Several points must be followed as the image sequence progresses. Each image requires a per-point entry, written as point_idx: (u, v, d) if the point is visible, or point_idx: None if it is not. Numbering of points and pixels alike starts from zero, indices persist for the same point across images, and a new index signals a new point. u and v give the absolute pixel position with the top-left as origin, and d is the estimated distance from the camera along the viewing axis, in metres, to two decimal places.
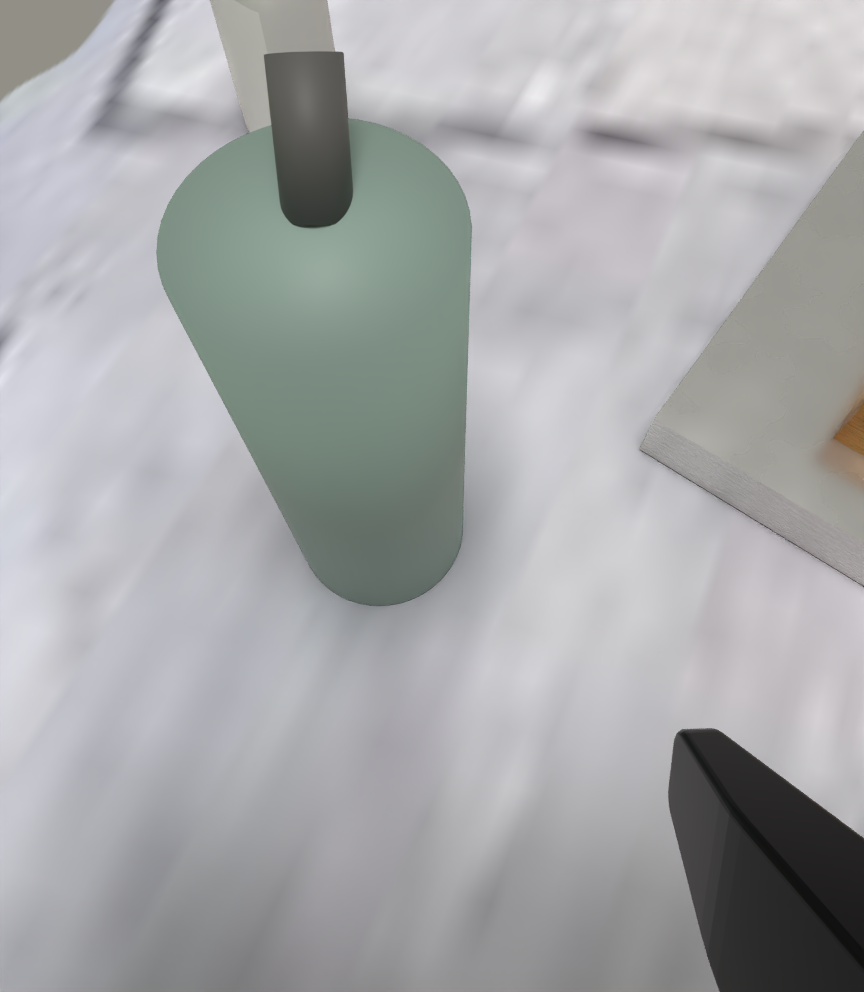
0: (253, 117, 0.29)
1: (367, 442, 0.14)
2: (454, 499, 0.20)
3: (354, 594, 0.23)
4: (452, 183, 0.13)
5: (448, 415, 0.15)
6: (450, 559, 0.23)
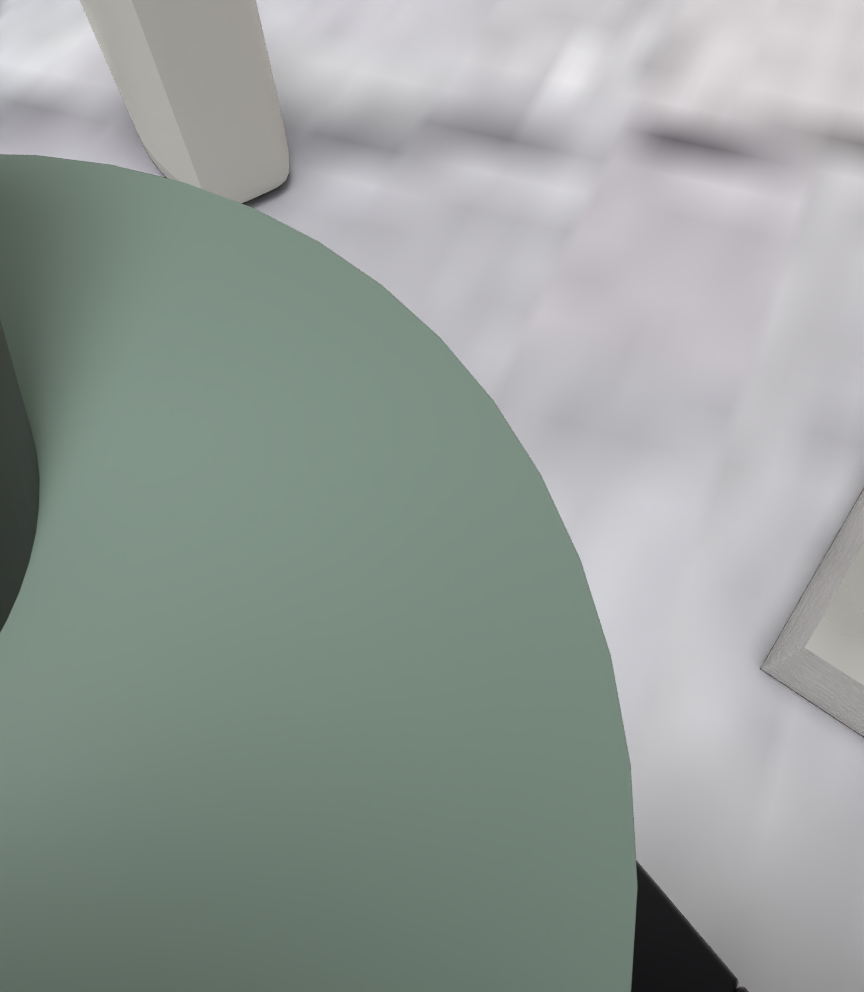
0: (134, 110, 0.18)
1: None
2: None
3: None
4: (514, 483, 0.03)
5: None
6: None
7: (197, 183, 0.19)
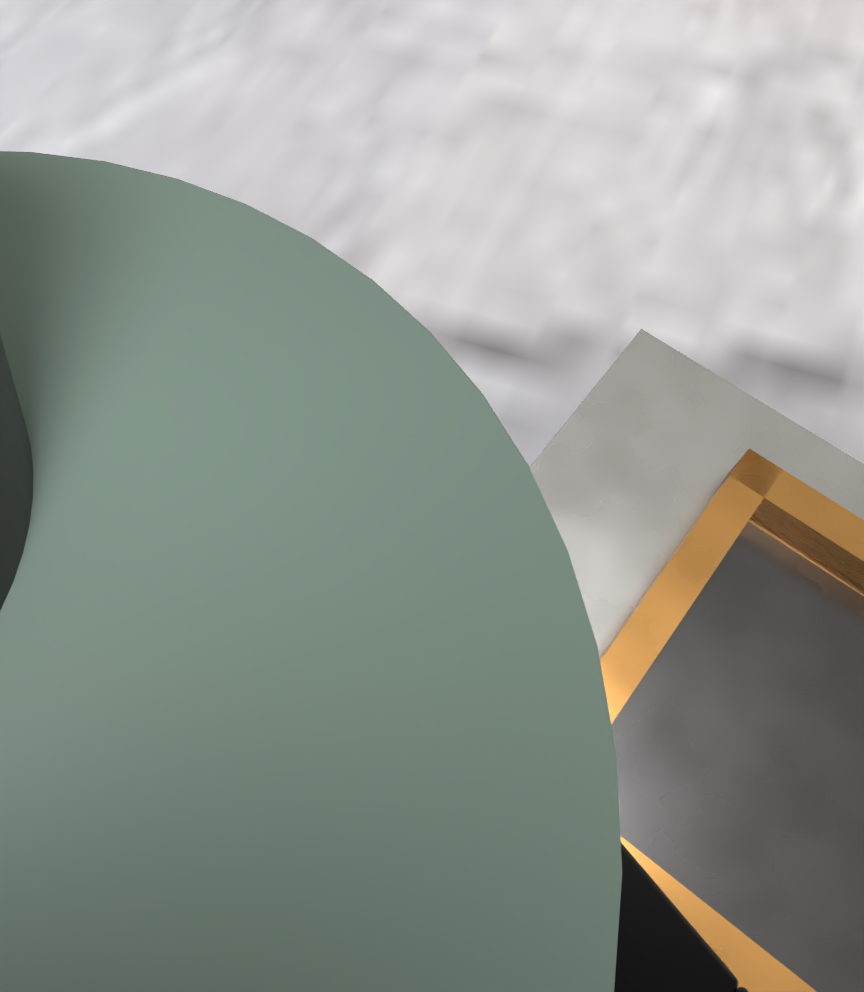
0: None
1: None
2: None
3: None
4: (503, 476, 0.03)
5: None
6: None
7: None
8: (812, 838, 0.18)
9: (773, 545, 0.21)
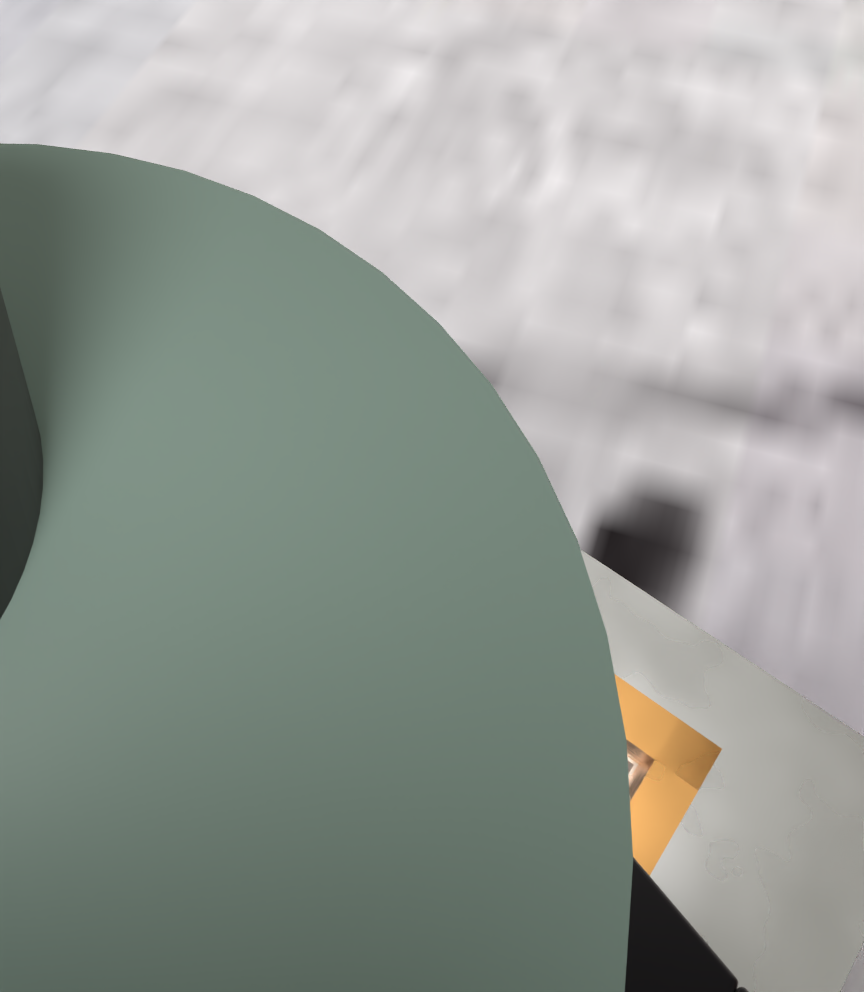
0: None
1: None
2: None
3: None
4: (512, 465, 0.03)
5: None
6: None
7: None
8: None
9: None
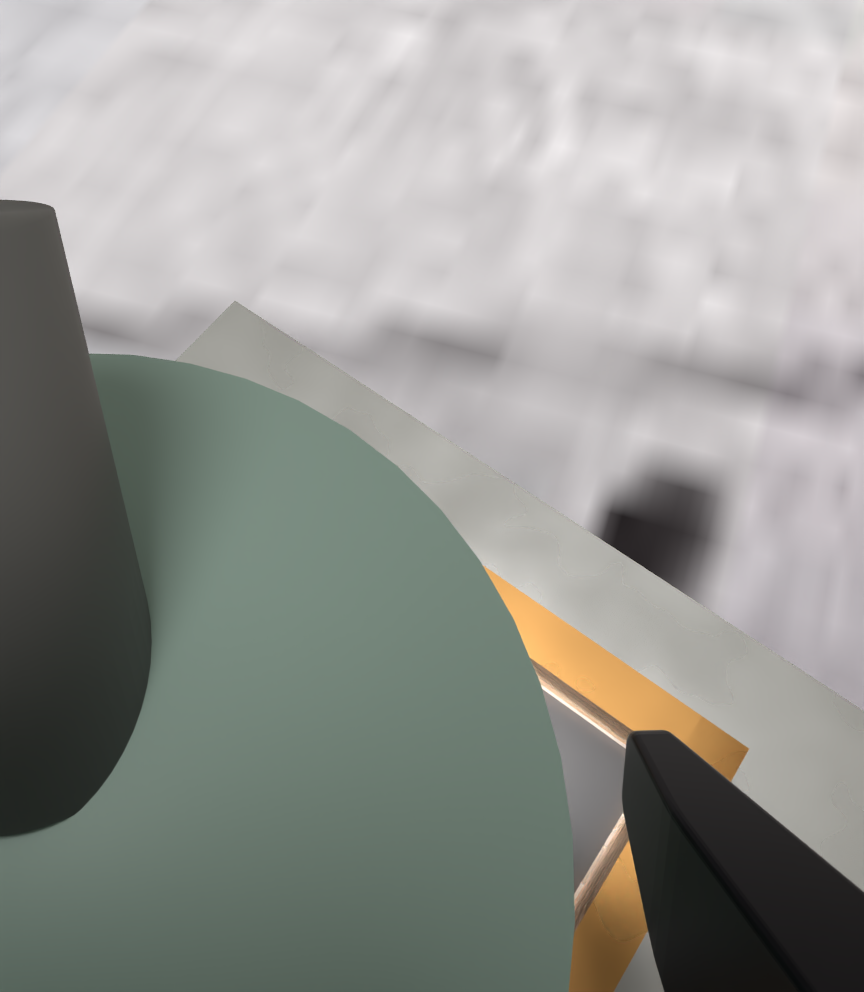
0: None
1: None
2: None
3: None
4: (495, 625, 0.04)
5: None
6: None
7: None
8: None
9: None
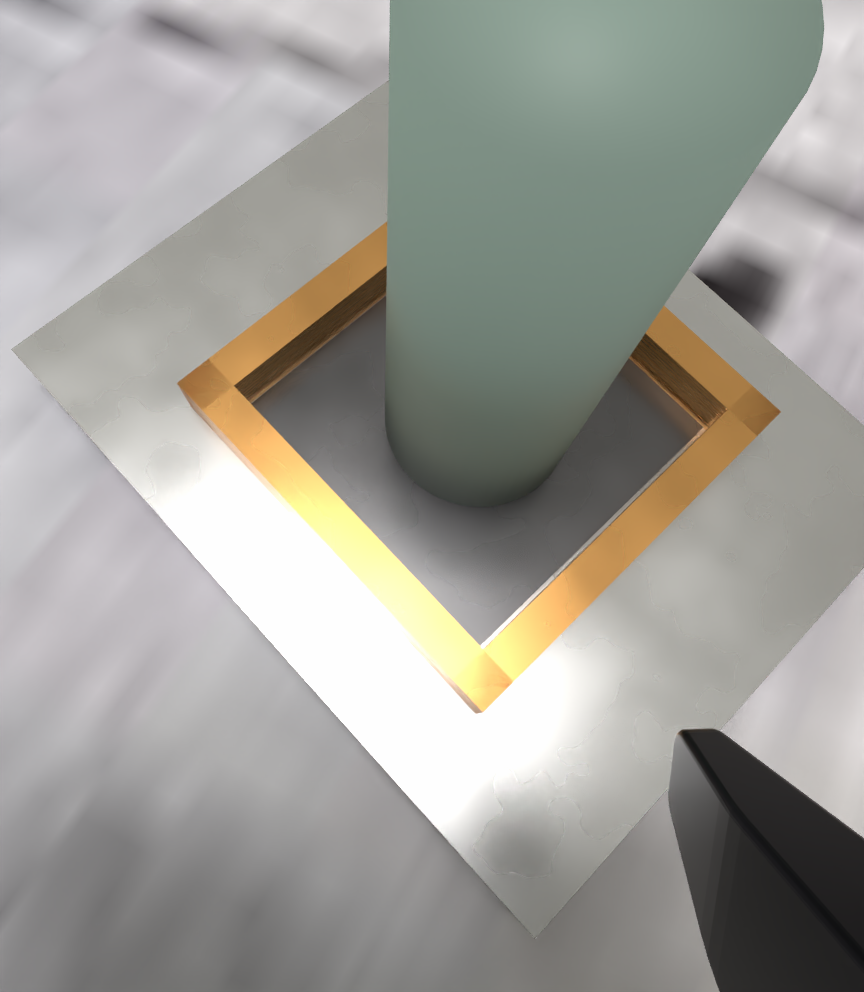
0: None
1: (586, 304, 0.11)
2: (599, 400, 0.17)
3: (441, 487, 0.20)
4: None
5: (671, 291, 0.12)
6: (553, 468, 0.20)
7: None
8: None
9: None
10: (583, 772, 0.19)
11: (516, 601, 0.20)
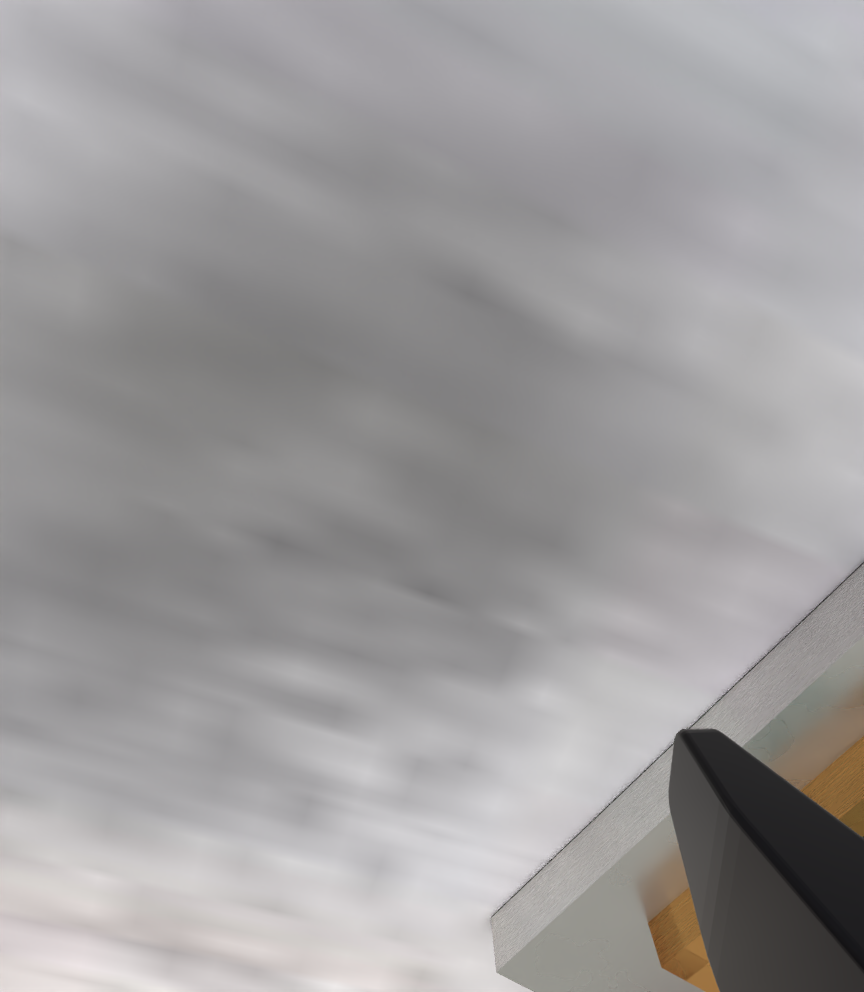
0: None
1: None
2: None
3: None
4: None
5: None
6: None
7: None
8: None
9: None
10: (611, 985, 0.26)
11: None
